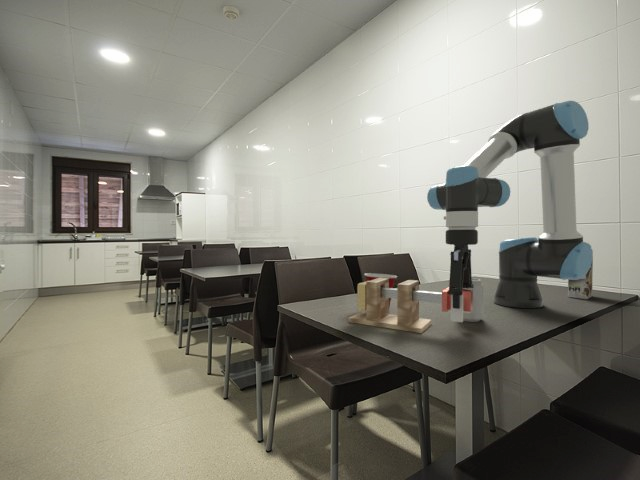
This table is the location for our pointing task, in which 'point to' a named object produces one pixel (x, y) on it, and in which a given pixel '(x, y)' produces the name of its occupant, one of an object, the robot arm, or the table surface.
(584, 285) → the coffee box
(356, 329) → the table surface
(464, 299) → the shaft
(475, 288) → the can
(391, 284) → the plastic cup
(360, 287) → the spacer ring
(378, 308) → the bearing stand
